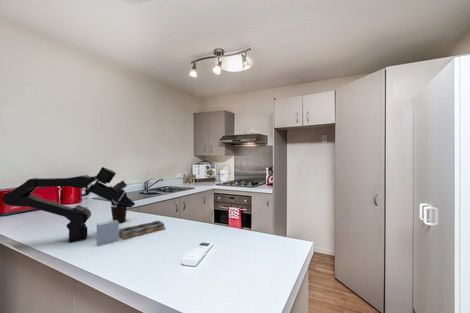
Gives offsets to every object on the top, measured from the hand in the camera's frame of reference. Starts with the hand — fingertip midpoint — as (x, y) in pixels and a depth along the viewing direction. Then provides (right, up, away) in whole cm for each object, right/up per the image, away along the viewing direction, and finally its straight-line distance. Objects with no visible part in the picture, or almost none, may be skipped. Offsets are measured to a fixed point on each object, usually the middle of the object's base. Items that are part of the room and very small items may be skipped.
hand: (133, 205), depth 106 cm
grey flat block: (-5, -14, -13) cm, 19 cm away
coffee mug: (-16, -14, +18) cm, 28 cm away
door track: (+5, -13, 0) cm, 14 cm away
